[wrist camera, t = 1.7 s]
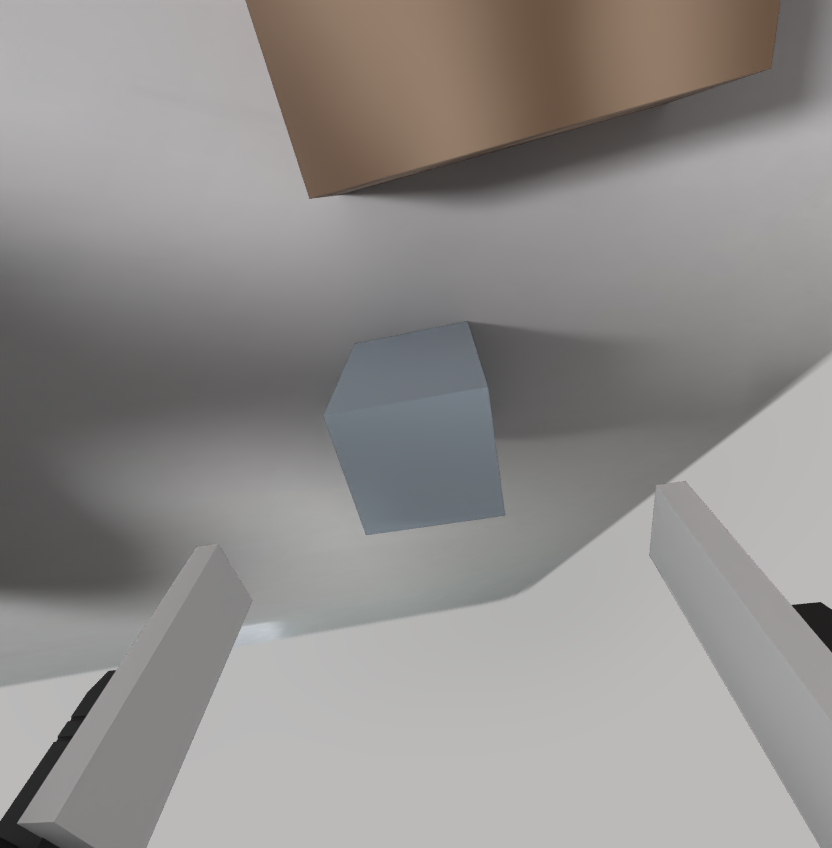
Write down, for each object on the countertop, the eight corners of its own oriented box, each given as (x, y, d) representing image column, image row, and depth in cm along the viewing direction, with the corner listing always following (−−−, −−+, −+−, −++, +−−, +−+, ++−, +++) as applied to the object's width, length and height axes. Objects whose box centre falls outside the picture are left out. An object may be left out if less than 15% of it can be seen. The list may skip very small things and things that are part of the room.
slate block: (382, 437, 25) (366, 535, 18) (354, 343, 22) (322, 416, 15) (482, 421, 24) (505, 515, 17) (467, 321, 21) (488, 387, 14)
